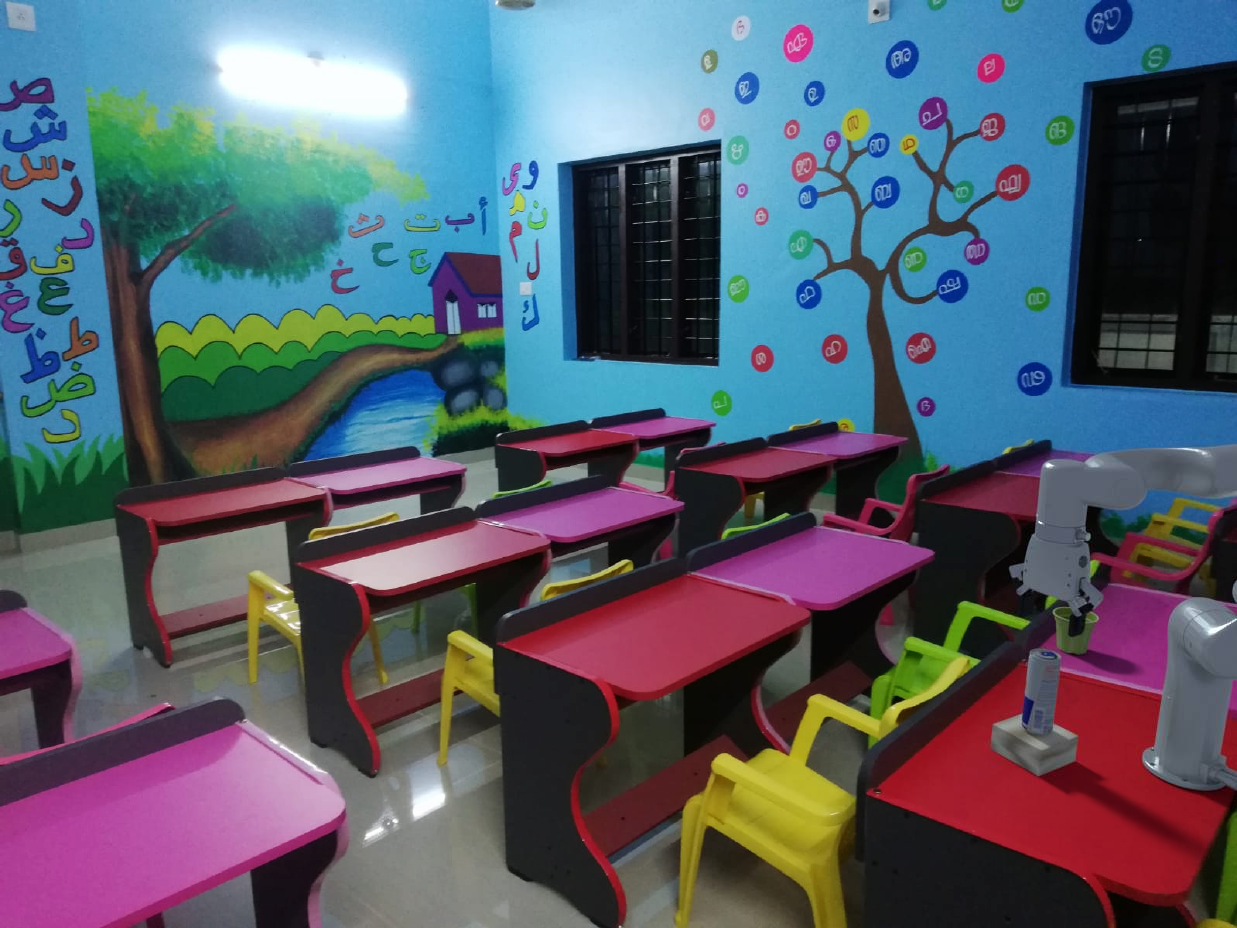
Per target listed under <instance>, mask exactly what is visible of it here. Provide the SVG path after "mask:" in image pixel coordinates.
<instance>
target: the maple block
mask: <svg viewBox="0 0 1237 928" xmlns="http://www.w3.org/2000/svg"><path fill="white" fill-rule="evenodd" d="M1078 741H1079V735H1078V734H1075V733H1074V732H1071V731H1070V730H1068V729H1065V728H1063V727H1061V726H1059V725H1058V724H1055V723H1054V722H1053V729H1052V731H1051V732H1050V733H1048V734H1047V735H1044V736H1038V735H1033V734H1031V733H1029V732H1027V731H1026V730H1025V728H1024V727H1023V726H1022V713H1021V714H1018V715H1015V716H1013V717H1009V718H1006V719H1004V720H1001V721H998V722H995V723H993V724H992V732H991V741H990V750H991V751H994V752H995V753H997V754H999V755H1001V757H1003V758H1006V759H1007V760H1009V761H1010V762H1012V763H1014V764H1016V765H1017V766H1019V767H1022V768H1023V769H1024V770H1027V771H1029V772H1030V773H1031V774H1034V775H1036V776H1037V777H1040V776H1043V775H1045V774H1047V773H1050V772H1053V771H1054V770H1058V769H1060V768H1062V767H1065V766H1067V765H1069V764H1072V763H1074V762H1076V756H1077V749H1078V744H1079V743H1078Z"/></svg>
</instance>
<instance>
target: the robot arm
mask: <svg viewBox="0 0 1237 928" xmlns="http://www.w3.org/2000/svg"><path fill="white" fill-rule="evenodd" d="M1148 491H1167V492H1172V493H1173V492H1174V493H1179V494H1181V495H1182V494H1183V495H1187V496H1191V497H1195V498H1202V499H1211V500H1217V499H1226V498H1236V497H1237V443H1234V444H1225V445H1216V446H1205V447H1203V446H1202V447H1199V446H1198V447H1195V446H1194V447H1193V446H1192V447H1188V446H1187V447H1143V448H1132V449H1131V448H1130V449H1123V450H1115V451H1114V450H1113V451H1108V452H1106V451H1105V452H1101V453H1098V454H1095V455H1092V456H1091V457H1089V458H1088V459H1086V460H1085V461H1084V462H1083V461H1079V460H1074V459H1069V458H1068V459H1066V458H1054V459H1053V458H1052V459H1049V460H1047V461H1045V462H1044V463H1043V464H1042V466H1041V469H1040V477H1039V489H1038V499H1037V500H1038V501H1037V507H1036V519H1035V529H1034V533H1033V534H1031V537H1030V540H1029V542H1028V545H1027V549H1026V554H1025V558H1024V562H1023V563H1018V564H1014V565H1010V566H1009V567H1008V570H1009V573H1010V576H1011V578H1012V579H1011V581H1012V584H1013V585H1014V587H1015V588H1016V593H1017V595H1019V598H1018V599H1019V601H1018V617H1019V618H1026V617H1029V616H1032V615H1033V614H1034V609H1035V599H1036V594H1035V593H1034V592H1033V591H1035V592H1037V593H1039V594H1043V595H1045V596H1049V597H1052V598H1054V599H1057V600H1060V601H1063V602H1066V603H1067V604H1068V607H1070V608H1071V609H1072V611H1073V613H1074V614H1071V615H1070V619H1069V628H1068V635H1069V636H1070V637H1075V636H1078V635H1081V634H1083V632H1084V630H1085V622H1086V614H1088V613H1090V612H1093V611H1094V610H1096V609H1098V606H1099V605H1100V604H1101V602H1102V601H1103V600H1104V598H1105V596H1104V594H1103V593H1102V592H1101V591H1100V590H1099V589H1097V588H1096V587H1095V586H1094V585H1093V584H1092V583H1091V554H1090V553H1091V552H1090V547H1089V543H1087V542H1088V541H1090V539H1091V533H1090V532H1087V531H1086V521H1087V512H1088V507H1089V506H1090V507H1096V508H1099V509H1100V508H1101V509H1107V510H1114V511H1126V510H1131V509H1135V508H1136V507H1138V506H1139V505H1140V504H1142V502H1144V500H1145V498H1146V497H1147V494H1148ZM1087 597H1089V600H1088V602H1087V601H1086V599H1085V598H1087ZM1232 597H1233V599H1234V601H1235V603H1236V604H1237V580H1236V581H1235V582H1234V584H1233V587H1232ZM1164 677H1165V678H1164V683H1163V689H1162V696H1161V702H1160V709H1159V715H1158V721H1157V728H1156V735H1155V742H1154V745H1153V746H1152V747H1148V748H1146V749H1145V750H1143V753H1142V760H1141V761H1142V764H1143V766H1144V767H1145V768H1146V769H1147V770H1148V771H1149V772H1150V773H1152V774H1153V775H1154V776H1155V777H1158V778H1160V779H1162V780H1163V781H1165V782H1167V783H1170V784H1172V785H1175V786H1178V787H1180V788H1185V789H1190V790H1195V791H1216V790H1217V791H1218V790H1220V789H1222V788H1224V787H1225V786H1227V787H1229V788H1231V789H1232V790H1235V791H1237V771H1236V770H1234V769H1231V768H1230V767H1228V765H1226V762H1227V756H1225V755H1223V754H1221V751H1222V745H1223V742H1224V741H1223V740H1224V734H1225V728H1226V723H1227V719H1228V718H1227V716H1228V712H1229V705H1230V700H1231V697H1232V696H1231V695H1232V689H1233V681H1237V614H1236V613H1235V612H1234V611H1233V610H1231V609H1230V608H1229V607H1227V606H1226V605H1224V604H1223V603H1221V602H1220V601H1217V600H1215V599H1212V598H1208V597H1197V596H1196V597H1192V598H1188V599H1185V600H1183V601H1181V602H1180V603H1179V604H1178V605H1177V606H1175V607H1174V609H1173V611H1172V612H1171V614H1170V616H1169V619H1168V624H1167V663H1166V669H1165V676H1164Z"/></svg>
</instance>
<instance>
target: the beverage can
mask: <svg viewBox="0 0 1237 928" xmlns="http://www.w3.org/2000/svg"><path fill="white" fill-rule="evenodd" d="M1061 664H1062V656H1061V654H1059V653H1058V652H1056V651H1054V650H1051V649H1045V648H1033V649H1031V650H1030V651H1029V656H1028V663H1027V671H1026V678H1025V679H1026V681H1025V689H1024V697H1023V704H1022V705H1023V706H1022V713H1021V714H1022V726H1023V727H1024V728H1025V730H1026V731H1027V732H1029V733H1031V734H1033V735H1038V736H1044V735H1047V734H1048V733H1050V732H1051V731H1052V729H1053V723H1054V721H1055V711H1056V706H1057V696H1058V689H1059V688H1058V687H1059V683H1060V682H1059V680H1060V672H1061V666H1062V665H1061Z"/></svg>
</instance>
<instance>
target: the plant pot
mask: <svg viewBox="0 0 1237 928" xmlns="http://www.w3.org/2000/svg"><path fill="white" fill-rule="evenodd" d="M1052 614H1053V616H1054V620H1055V627H1056V647H1057V649H1058V650H1059V651H1061V652H1063V653H1066V654H1075V655H1084V654H1086V653H1087V651H1088V648H1089V644H1090V641H1091V637H1092V635H1093V634H1092V633H1093V631H1094V628H1095V627H1096V624H1097V623H1099V620H1100V618H1099V616H1098V615H1097V614H1096V613H1094V612H1093V611H1091V612H1090V613H1088V614H1086V622H1085V630H1084V632H1083V634H1081V635H1078V636H1075V637H1070V636H1069V635H1068V628H1069V619H1070V615H1071V614H1074V613H1073V611H1072V609H1071V608H1070V606H1062V607H1061V606H1060V607H1056V608H1054V609H1053V610H1052Z"/></svg>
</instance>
